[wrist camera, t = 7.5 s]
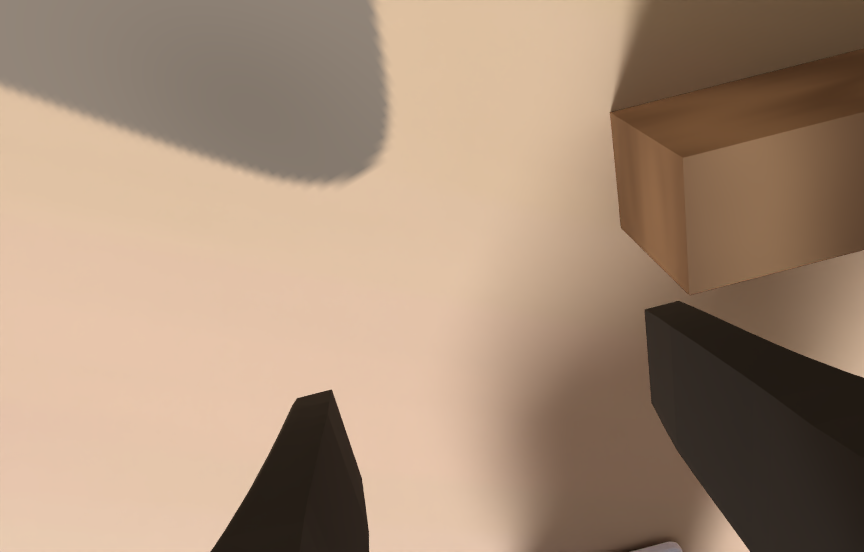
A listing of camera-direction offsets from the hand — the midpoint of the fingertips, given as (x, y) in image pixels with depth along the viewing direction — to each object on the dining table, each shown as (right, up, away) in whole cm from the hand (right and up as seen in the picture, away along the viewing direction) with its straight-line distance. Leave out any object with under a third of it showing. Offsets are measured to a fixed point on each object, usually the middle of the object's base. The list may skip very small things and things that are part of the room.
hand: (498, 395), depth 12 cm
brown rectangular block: (+9, +6, +8) cm, 13 cm away
